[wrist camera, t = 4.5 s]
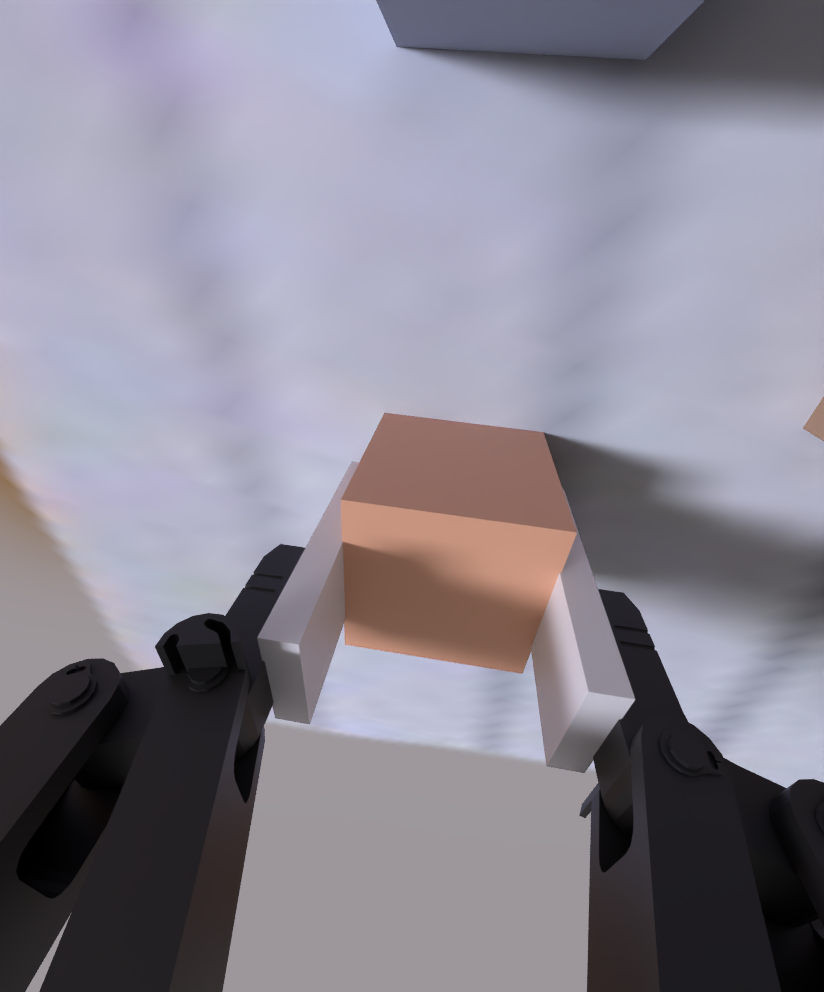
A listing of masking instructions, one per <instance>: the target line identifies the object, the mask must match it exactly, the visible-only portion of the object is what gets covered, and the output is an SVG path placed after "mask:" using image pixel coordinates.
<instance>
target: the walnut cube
mask: <svg viewBox="0 0 824 992" xmlns="http://www.w3.org/2000/svg"><path fill="white" fill-rule="evenodd" d="M803 429H805V430H806V431H808V432H810V433H811V434H813V435H815V436H816V437H818V438H820V439H821V440H823V441H824V397H823V399H822V400H821V402H820V403H819V405H818V406H817V408H816V409H815V411H814V412H813V414H812V415H811V417H810V418H809V420H808V421H807V423H806V424H805V426H804V427H803Z"/></svg>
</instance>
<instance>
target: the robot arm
mask: <svg viewBox="0 0 824 992" xmlns="http://www.w3.org/2000/svg"><path fill="white" fill-rule="evenodd" d="M358 464H359V462H351V464H350V466H349V468H348V470H347V472H346V474H345V475H344V477H343V479H342V481H341V483H340V485H339V487H338V488H337V490H336V492H335V494H334V496H333V498H332V500H331V501H330V503H329V505H328V507H327V509H326V511H325V513H324V514H323V516H322V518H321V520H320V522H319V524H318V526H317V527H316V529H315V531H314V533H313V535H312V537H311V539H310V541H309V542H308V544H307V546H306V548H303V547H296V546H290V545H283V544H280V545H279V546H277V547H276V548H275V549H273V550H272V551H271V552H269V553H268V554H267V555H265V556H264V557H263V559H262V560H261V562H260V563H259V565H258V566H257V568H256V570H255V571H254V575H252V576H251V577H250V579H249V580H248V582H247V583H246V586H245V588H243V589H242V591H241V593H240V594H239V596H238V597H237V599H236V600H235V602H234V603H233V605H232V606H231V608H230V609H229V611H228V613H227V614H226V616H224V615H220V614H211V613H207V614H202V615H196V616H192V617H190V618H188V619H186V620H183V621H181V622H179V623H177V624H176V625H175V626H173V627H172V628H171V629H169V630H168V631H167V632H166V633H164V635H163V636H162V637H161V639H160V640H159V642H158V643H157V645H156V646H155V648H156V650H157V652H158V654H159V657H160V659H161V661H162V663H163V665H164V667H161V668H155V669H148V670H141V671H134V672H126V673H120V672H119V670H118V669H117V667H116V666H115V664H114V663H113V662H110V661H107V660H105V659H86V660H83V661H79V662H76V663H73V664H70V665H68V666H66V667H64V668H63V669H61V670H59V671H57V672H55V673H53V674H52V675H51V676H50V677H48V678H47V679H46V680H45V681H44V682H42V683H41V684H40V685H39V686H38V687H37V688H36V689H35V690H34V691H33V692H32V693H31V694H30V695H29V696H28V697H27V698H26V699H25V700H24V701H23V702H22V703H21V704H20V706H19V707H18V708H17V709H16V710H15V711H14V712H13V713H12V714H11V715H10V716H9V717H8V718H7V719H6V720H5V721H4V722H3V724H1V726H0V992H25V991H26V989H27V987H28V986H29V984H30V982H31V981H32V979H33V977H34V976H35V973H36V972H37V970H38V969H39V967H40V965H41V964H42V962H43V960H44V958H45V957H46V955H47V953H48V952H49V950H50V948H51V946H52V944H53V943H54V941H55V940H56V938H57V936H58V934H59V933H60V931H61V929H62V928H63V926H64V924H65V922H66V921H67V919H68V917H69V916H70V918H69V920H68V923H67V925H66V928H65V930H64V933H63V935H62V937H61V940H60V942H59V945H58V947H57V950H56V952H55V955H54V957H53V960H52V962H51V965H50V967H49V969H48V972H47V974H46V977H45V980H44V982H43V984H42V987H41V989H40V992H222V990H223V984H224V979H225V973H226V967H227V961H228V955H229V949H230V943H231V937H232V931H233V926H234V919H235V913H236V908H237V902H238V896H239V890H240V884H241V878H242V872H243V867H244V861H245V854H246V848H247V842H248V837H249V831H250V825H251V819H252V813H253V808H254V802H255V795H256V790H257V784H258V778H259V772H260V766H261V760H262V754H263V749H264V743H265V733H264V732H265V729H264V724H265V722H266V719H267V717H268V715H269V712H270V710H271V708H272V706H273V710H274V714H275V718H277V719H283V720H288V721H294V722H300V723H305V724H310V722H311V719H312V716H313V713H314V710H315V707H316V704H317V701H318V698H319V695H320V692H321V689H322V686H323V683H324V680H325V677H326V674H327V671H328V668H329V665H330V662H331V660H332V657H333V654H334V651H335V648H336V645H337V642H338V639H339V636H340V633H341V630H342V627H343V624H344V621H345V594H344V562H343V542H342V526H341V498H342V496H343V494H344V492H345V490H346V488H347V486H348V484H349V482H350V480H351V478H352V476H353V474H354V472H355V470H356V468H357V466H358ZM563 492H564V495H565V498H566V501H567V504H568V507H569V510H570V513H571V516H572V519H573V522H574V525H575V527H576V530H577V534H576V537H575V539H574V542H573V545H572V547H571V550H570V552H569V555H568V557H567V560H566V563H565V565H564V568H563V570H562V573H559V576H558V578H557V581H556V584H555V586H554V589H553V591H552V594H551V597H550V599H549V602H548V605H547V607H546V610H545V612H544V615H543V618H542V620H541V623H540V626H539V628H538V631H537V633H536V636H535V639H534V641H533V644H532V647H531V651H532V659H533V667H534V674H535V682H536V689H537V697H538V705H539V712H540V720H541V727H542V735H543V743H544V750H545V758H546V766H548V767H554V768H559V769H565V770H571V771H576V772H582V773H585V771H586V770H587V768H588V767H589V766H590V764H591V763H592V761H593V760H594V764H595V769H596V773H597V778H598V782H599V783H598V784H597V785H596V787H595V788H594V789H593V791H592V792H591V793H590V794H589V796H588V797H587V798H586V800H585V801H584V803H583V804H582V807H581V811H580V816H582V817H584V818H586V816H587V815H588V814H589V813H590V812H591V845H590V887H589V931H588V932H589V933H588V975H587V992H824V783H823V782H820V781H817V780H814V779H804V780H798V781H796V782H795V783H794V784H792V785H791V786H789V787H788V788H785V787H783V786H780V785H778V784H776V783H774V782H772V781H770V780H768V779H765V778H763V777H761V776H759V775H757V774H755V773H753V772H750V771H748V770H746V769H744V768H742V767H740V766H738V765H736V764H734V763H732V762H730V761H729V760H727V759H725V758H723V756H722V754H721V753H720V751H719V750H718V749H717V747H716V746H715V745H714V744H713V742H712V741H711V740H710V739H709V738H708V737H707V736H706V735H705V734H704V733H702V732H701V731H700V730H699V729H698V728H697V727H695V726H694V725H692V724H690V723H689V722H688V721H687V719H686V717H685V715H684V713H683V711H682V709H681V706H680V704H679V702H678V699H677V697H676V695H675V692H674V690H673V688H672V685H671V683H670V681H669V678H668V676H667V674H666V671H665V669H664V667H663V664H662V662H661V660H660V657H659V655H658V653H657V651H655V649H654V647H655V646H654V643H653V641H652V639H651V636H650V634H648V633H647V631H648V630H647V627H646V625H645V623H644V620H643V618H642V616H641V613H640V611H639V610H638V609H637V607H636V606H635V605H634V604H633V603H632V602H631V601H630V600H629V598H628V597H627V596H626V595H625V594H624V593H621V592H614V591H608V590H601V589H598V588H597V585H596V582H595V579H594V576H593V573H592V570H591V567H590V564H589V561H588V558H587V556H586V553H585V550H584V547H583V544H582V541H581V538H580V535H579V532H578V529H577V526H576V523H575V520H574V517H573V514H572V511H571V508H570V506H569V503H568V500H567V497H566V494H565V491H564V489H563ZM71 912H72V913H71ZM70 914H71V915H70Z"/></svg>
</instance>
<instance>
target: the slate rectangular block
mask: <svg viewBox="0 0 824 992" xmlns="http://www.w3.org/2000/svg"><path fill="white" fill-rule="evenodd" d="M376 1H377V3H378V5H379V7H380V10H381V12H382V14H383V17H384V19H385V21H386V24H387V26H388V28H389V30H390V33H391V35H392V37H393V40H394V42H395V44H396V46H397V47H414V48H432V49H450V50H468V51H487V52H505V53H523V54H541V55H559V56H577V57H595V58H613V59H632V60H646V59H647V58H648V57H649V56H650V55H651V54H652V53H653V52H654V51H655V50H656V49H657V48H658V47H659V46H660V45H661V44H662V43H663V42H664V41H665V40H666V39H667V38H668V37H669V36H670V35H671V34H672V33H673V32H674V31H675V30H676V29H677V28H678V27H679V26H680V25H681V24H682V23H683V22H684V21H685V20H686V19H687V18H688V17H689V16H690V15H691V14H692V13H693V12H694V11H695V10H696V9H697V8H698V7H699V6H700V5H701V4H702V3H703V2H704V1H705V0H376Z"/></svg>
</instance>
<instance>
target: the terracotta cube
mask: <svg viewBox="0 0 824 992" xmlns="http://www.w3.org/2000/svg"><path fill="white" fill-rule="evenodd" d="M341 526H342V542H343V562H344V594H345V621H344V628H345V645H351V646H357V647H363V648H369V649H375V650H381V651H387V652H393V653H400V654H406V655H412V656H418V657H424V658H430V659H436V660H442V661H448V662H454V663H461V664H467V665H473V666H479V667H485V668H491V669H497V670H503V671H509V672H515V673H523V671H524V668H525V665H526V663H527V660H528V658H529V655H530V653H531V647H532V644H533V641H534V639H535V636H536V633H537V631H538V628H539V626H540V623H541V620H542V618H543V615H544V612H545V610H546V607H547V605H548V602H549V599H550V597H551V594H552V591H553V589H554V586H555V584H556V581H557V578H558V576H559V573H562V570H563V568H564V565H565V563H566V560H567V557H568V555H569V552H570V550H571V547H572V545H573V542H574V539H575V537H576V534H577V530H576V527H575V525H574V522H573V519H572V516H571V513H570V510H569V507H568V504H567V501H566V498H565V495H564V492H563V489H562V486H561V483H560V480H559V477H558V474H557V471H556V468H555V465H554V462H553V459H552V456H551V453H550V450H549V447H548V444H547V441H546V438H545V435H544V432H536V431H528V430H520V429H512V428H504V427H495V426H487V425H479V424H471V423H463V422H455V421H446V420H438V419H430V418H422V417H414V416H406V415H398V414H389V413H384V415H383V417H382V419H381V421H380V423H379V425H378V427H377V429H376V431H375V433H374V435H373V437H372V439H371V441H370V443H369V445H368V447H367V449H366V451H365V453H364V455H363V457H362V459H361V461H360V463H359V464H358V466H357V468H356V470H355V472H354V474H353V476H352V478H351V480H350V482H349V484H348V486H347V488H346V490H345V492H344V494H343V496H342V498H341Z"/></svg>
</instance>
